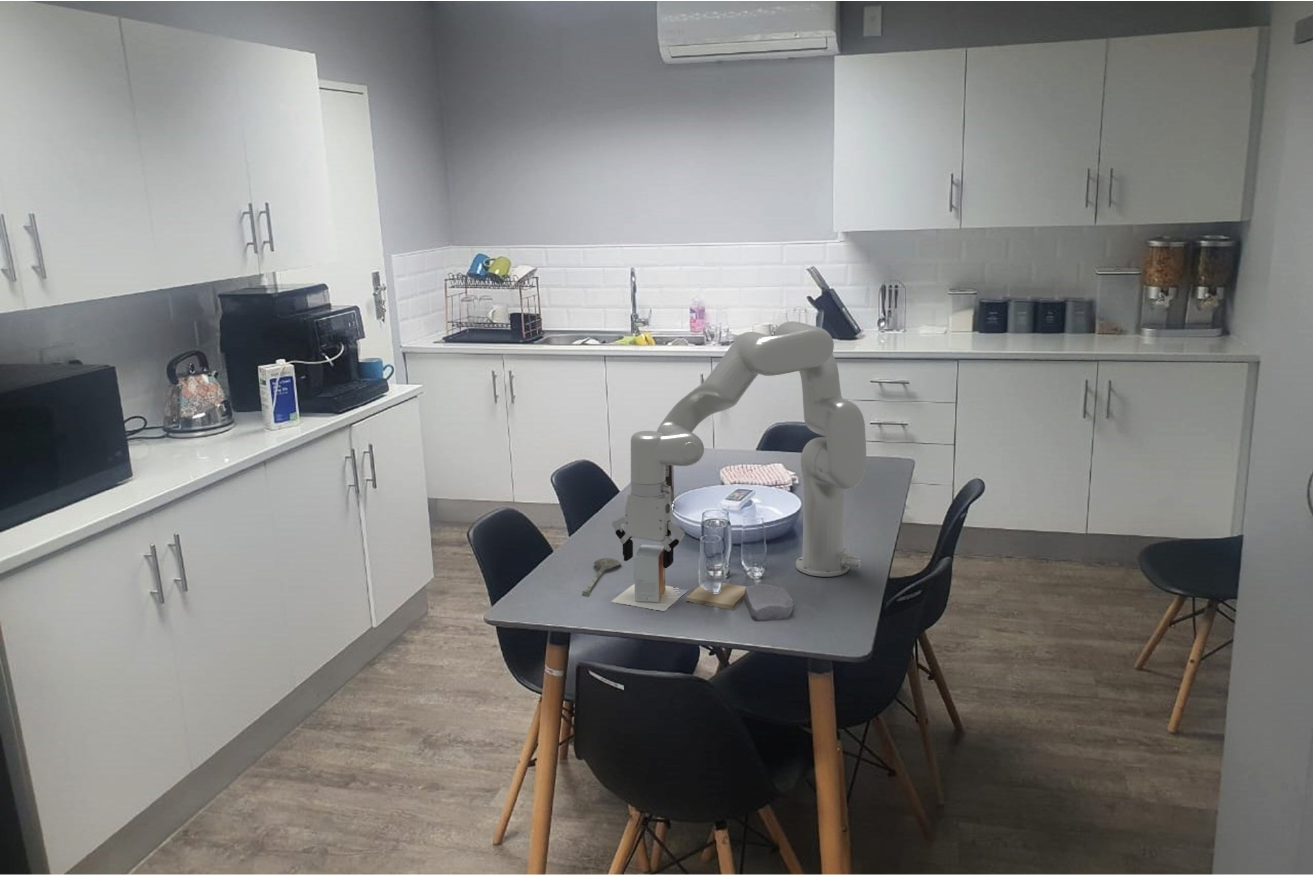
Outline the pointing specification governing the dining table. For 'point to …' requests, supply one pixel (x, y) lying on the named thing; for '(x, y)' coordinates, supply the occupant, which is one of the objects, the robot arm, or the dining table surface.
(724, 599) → the wooden board
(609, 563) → the soupspoon
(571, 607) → the dining table surface
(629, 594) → the cream tile
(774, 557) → the dining table surface
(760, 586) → the stone block
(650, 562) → the small box
